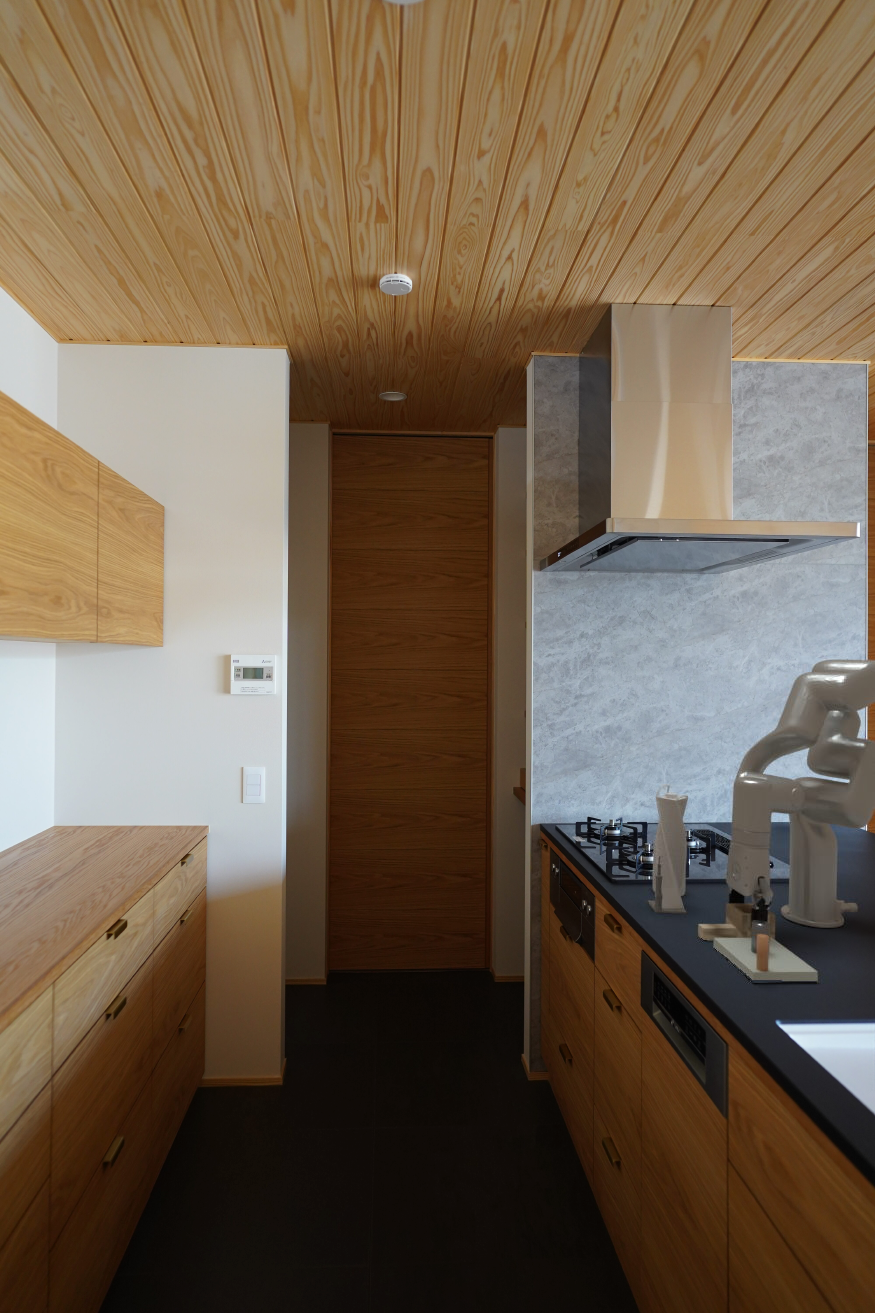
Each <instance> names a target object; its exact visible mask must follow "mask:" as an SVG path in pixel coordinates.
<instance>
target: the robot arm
mask: <svg viewBox="0 0 875 1313" xmlns="http://www.w3.org/2000/svg"><path fill="white" fill-rule="evenodd" d="M874 703H875V659H873V660H872V659H826V660H822V661H821V660H820V661H819V662H817V663H815V664H814V665H813V667H812V668H811V671H809V672H804V673H802V674H800V675H799V676H798V677H797V678H796V679H795V680H794V683H793V684H792V687H791V689H790V692H789V694H788V697H787V701H786V703H785V705H784V707H783V711H782V713H781V715H780V718H779V720H778V724H777V725H776V728H775V729H774V730H772V731H771V732H769V733H767V734H766V735H765V736H764V737H762V738H760V739H759V740H758V741H757V742H756V743H755V744H753V746H752V747H751V748H749V750H748V751H747V752H746V754H745V755H744V756H743V758H742V760H741V763H740V765H739V768H738V770H737V772H736V776H735V780H734V783H733V787H732V789H733V791H732V812H731V835H730V836H731V837H730V845H729V848H728V849H729V850H728V854H727V856H728V857H727V863H726V875H725V876H726V877H725V881H726V884H727V885H728V890H727V891H728V904H739V903H745V897H746V898H749V897H750V899H751V903H753V907H754V908H752V909H751V928H752V921H753V920H761V921H765V922H768V910H769V911H770V908H771V905H772V899H773V897H774V891H772V888H771V886H770V885H771V863H770V862H771V861H770V850H769V849H771V840H772V839H771V834H772V831H771V830H772V829H771V828H772V815H773V813H777V814H783V815H785V814H786V815H788V820H789V870H788V871H789V876H788V877H789V879H788V880H789V881H788V885H789V886H788V904H785V905H783V906H782V907H781V908H780V913H781V916H783V918H784V919H787V920H789V921H791V922H793V923H797V924H799V925H803V926H807V927H808V926H809V927H814V928H823V929H824V928H826V929H830V928H831V929H832V928H834V929H835V928H839V927H842V926H843V925H844V923H845V919H844V916H843V915H842V914H844V913H845V912H848V913H856V912H858V910H859V907H858V905H857V903H856V902H845V900H839V899H837V890H838V889H837V885H838V884H837V883H838V882H837V881H838V880H837V877H838V875H837V874H838V840H837V837H836V834H835V833H834V831H833V829H832V827H831V825H833V826H839V827H841V828H842V827H844V828H848V829H854V830H855V829H857V830H859V829H863V828H864V827H866V826H867V825H868V824H869V823H870V821H871V819H872V817H873V815H874V812H875V740H872V739H868V738H862V737H861V738H860V737H858V736H859V732H860V729H861V728H860V727H861V724H862V720H861V718H860V714H859V713H858V711H861V710H863V709H866V708H867V707H869V706H871V705H872V704H874ZM806 749H808V752H807V756H806V765H807V767H808V769H809V770H810V771H811V772H812V773H815V774H817V775H819V776H824V777H829V778H832V779H827V778H819V777H814V776H803V777H802V776H801V777H797V778H795V779H793V778H789V777H784V776H777V775H772V774H767V773H764V772H765V770H766V769H767V768H768V767H769V765H771V764H772V763H773V762H774V761H776V760H778V759H780V758H782V757H784V756H787V755H791V754H793V753H794V754H795V753H797V752H800V751H804V750H806ZM833 778H835V779H840V780H847V781H849V782H845V781H844V782H843V781H838V780H834V779H833ZM758 899H759V900H758Z"/></svg>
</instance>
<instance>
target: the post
mask: <svg viewBox="0 0 875 1313" xmlns="http://www.w3.org/2000/svg"><path fill="white" fill-rule="evenodd" d="M757 934H765V935H767V936H769V946H770V924H769V923H768V922H765V921H761V920H753V921H752V932H751V951H752V952H753V953H755V954H757Z"/></svg>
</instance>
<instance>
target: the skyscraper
mask: <svg viewBox="0 0 875 1313" xmlns="http://www.w3.org/2000/svg"><path fill="white" fill-rule="evenodd" d="M670 786H671V785H669V784H664V785H662V786H661V787H660V788H659V789H658V790H657V793H656V796H655V801H656V807H657V813H658V817H659V818H658V823H657V827H656V836H655V838H656V872H657V874H656V891H655V892H654V900H647V904H648V905H649V906H650V908H651V909H652V910H653V911H654V913H655V914H657V913H659V914H685V915H686V914H687V910H686V909H685V907H684V903H683V900H682V896H680V892H681V888H682V884H683V879H684V873H685V867H687V854H688V852H687V850H688V847H687V844H688V843H687V835H686V828H685V824H684V820H683V819H684V816H685V811H686V809H687V808H686V807H687V805H688V800H689V796H688V795H687V794H683V795H680V796H679V794H678V793H676V792H670ZM664 788H667V790H666V792H665V793H664V795H659V794H660V791H661V790H662V789H664Z"/></svg>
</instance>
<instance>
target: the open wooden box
mask: <svg viewBox="0 0 875 1313" xmlns="http://www.w3.org/2000/svg"><path fill="white" fill-rule="evenodd" d="M752 908H754V907H753V903H752V902H751V903H748V902H747V903H746V902H744V903H739V904H729V903H726V904H725V923H698V924H697V925H698V926H697V927H698V928H697V930H698V931H697V934H698V935H697V936H698V937H699V938H700V939H701V938H702V939H703V940H707V941H714V938H751V932H752V928H751V909H752ZM768 923H769V924H770V938H773V939H774V940H776V914H774V913H773V912H772V911H770V909H769V910H768ZM702 939H701V940H702ZM703 940H702V941H703Z"/></svg>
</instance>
